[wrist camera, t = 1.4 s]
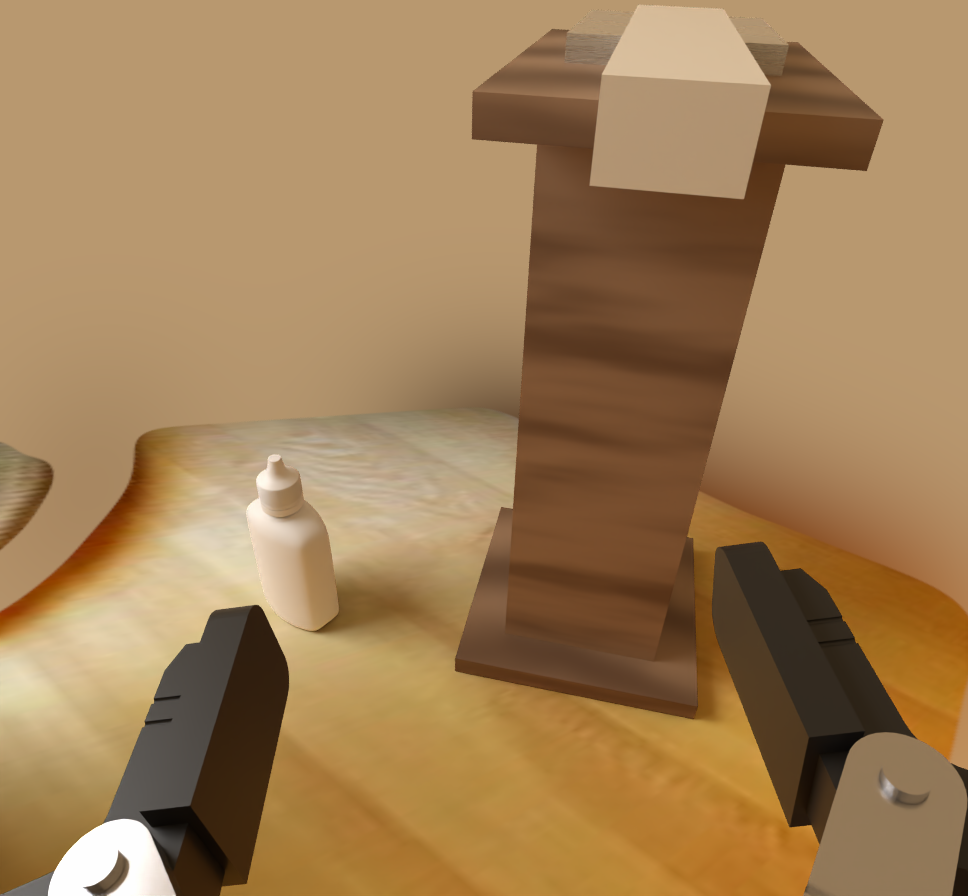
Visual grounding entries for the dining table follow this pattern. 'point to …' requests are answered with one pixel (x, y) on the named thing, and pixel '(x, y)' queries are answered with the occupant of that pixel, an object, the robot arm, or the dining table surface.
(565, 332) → the shelf stand
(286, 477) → the eye dropper bottle
